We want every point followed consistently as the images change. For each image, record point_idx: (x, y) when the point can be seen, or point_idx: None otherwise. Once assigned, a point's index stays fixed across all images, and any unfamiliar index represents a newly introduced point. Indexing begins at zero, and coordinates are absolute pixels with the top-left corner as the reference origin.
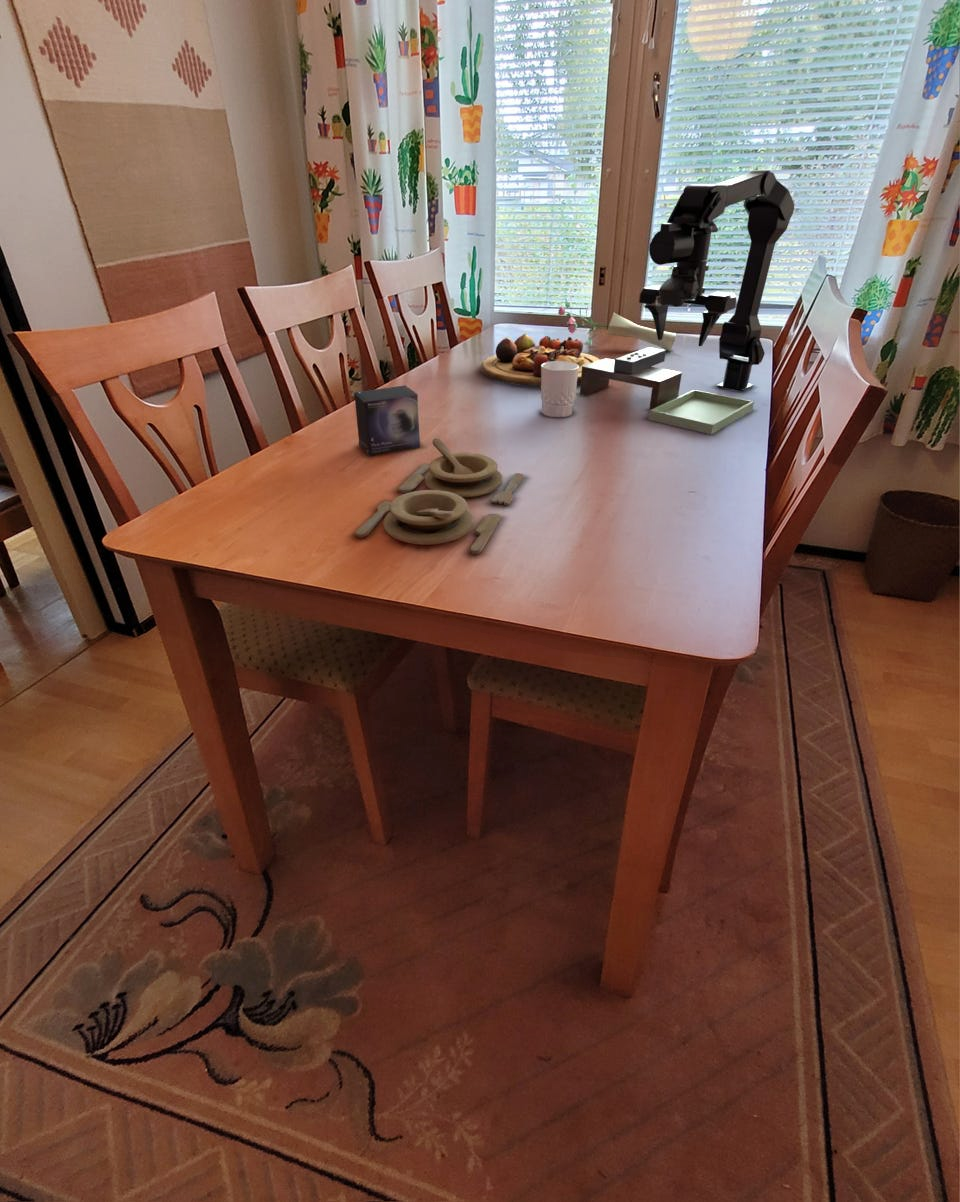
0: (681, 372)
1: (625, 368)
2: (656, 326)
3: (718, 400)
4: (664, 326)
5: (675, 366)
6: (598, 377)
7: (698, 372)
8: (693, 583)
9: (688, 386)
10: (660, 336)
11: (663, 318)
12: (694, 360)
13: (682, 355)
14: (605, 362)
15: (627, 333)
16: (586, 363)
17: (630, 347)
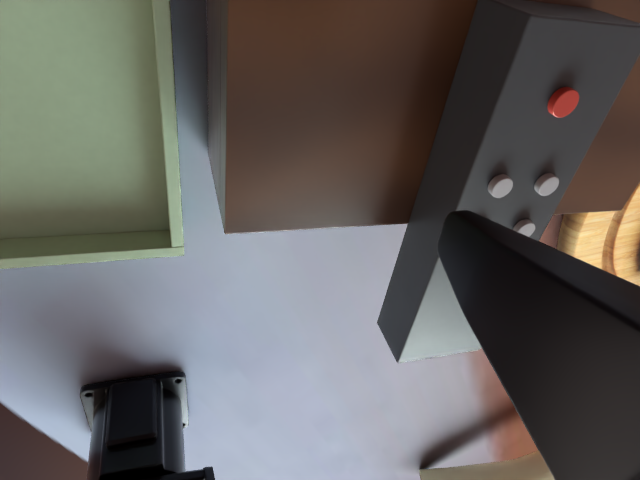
0: (226, 231)
1: (540, 7)
2: (596, 275)
3: (38, 241)
4: (496, 359)
5: (374, 417)
6: None
7: (301, 422)
8: None
9: (267, 325)
10: (465, 238)
11: (582, 423)
12: (348, 466)
13: (386, 469)
14: (627, 146)
15: (537, 459)
16: (625, 253)
17: (505, 437)
